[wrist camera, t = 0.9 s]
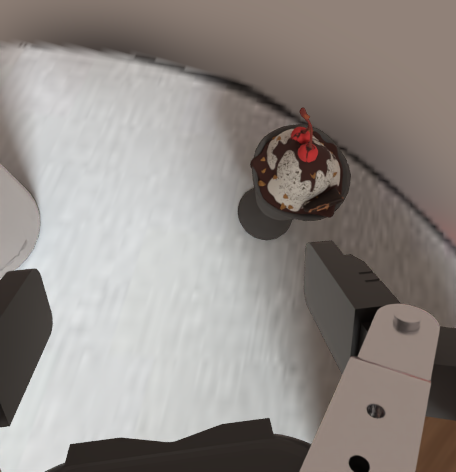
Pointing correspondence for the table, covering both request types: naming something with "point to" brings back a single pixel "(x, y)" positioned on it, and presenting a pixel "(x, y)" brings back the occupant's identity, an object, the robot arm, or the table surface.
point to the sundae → (293, 180)
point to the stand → (437, 446)
